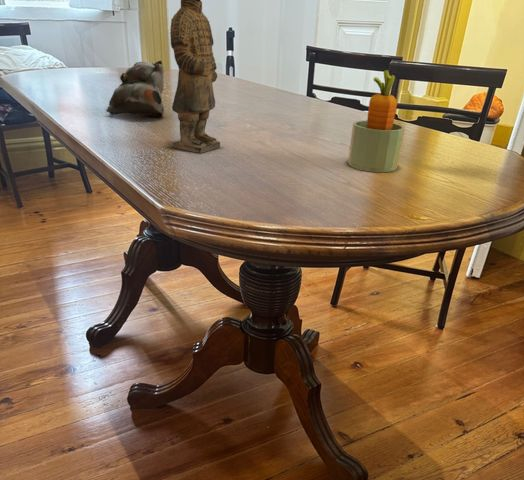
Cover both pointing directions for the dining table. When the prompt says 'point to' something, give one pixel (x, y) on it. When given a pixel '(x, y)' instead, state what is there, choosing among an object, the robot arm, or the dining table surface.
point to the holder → (375, 147)
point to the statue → (193, 76)
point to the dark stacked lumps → (139, 91)
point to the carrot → (382, 105)
